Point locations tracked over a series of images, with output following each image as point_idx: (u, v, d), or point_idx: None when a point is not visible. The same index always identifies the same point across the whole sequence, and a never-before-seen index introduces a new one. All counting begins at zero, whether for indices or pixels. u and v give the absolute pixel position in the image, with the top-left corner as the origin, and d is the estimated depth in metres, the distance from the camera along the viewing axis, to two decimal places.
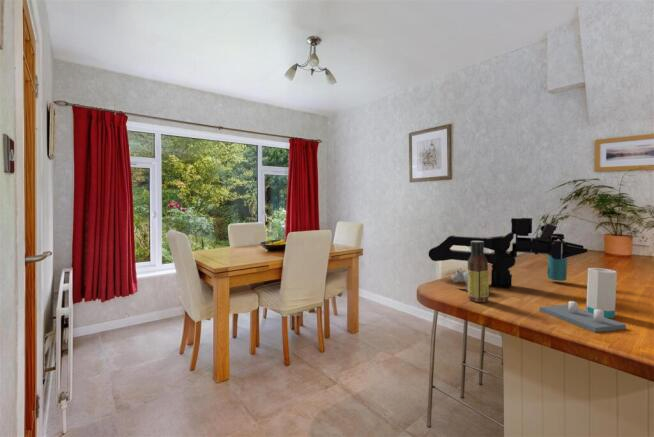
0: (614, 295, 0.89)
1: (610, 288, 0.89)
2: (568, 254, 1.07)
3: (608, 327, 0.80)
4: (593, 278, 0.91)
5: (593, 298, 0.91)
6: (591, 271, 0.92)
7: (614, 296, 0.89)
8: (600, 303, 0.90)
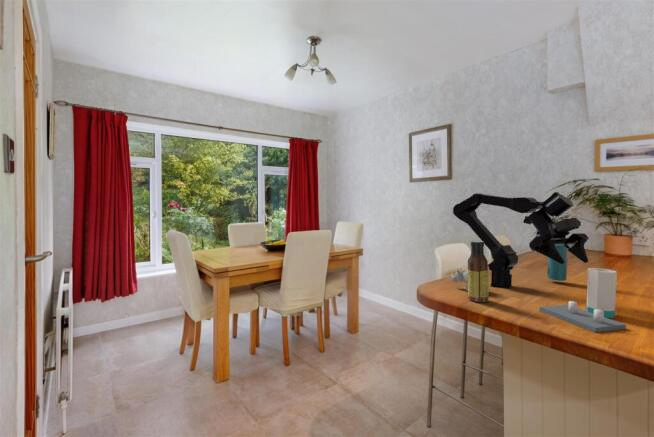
0: (614, 295, 0.89)
1: (610, 288, 0.89)
2: (545, 253, 1.02)
3: (608, 327, 0.80)
4: (593, 278, 0.91)
5: (593, 298, 0.91)
6: (591, 271, 0.92)
7: (614, 296, 0.89)
8: (600, 303, 0.90)
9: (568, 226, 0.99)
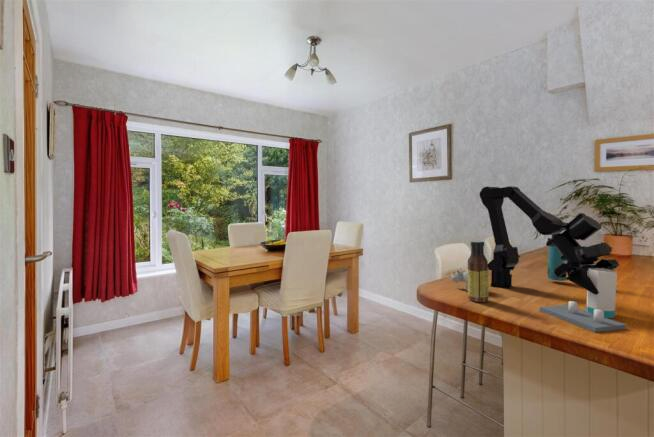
0: (614, 295, 0.89)
1: (610, 288, 0.89)
2: (576, 281, 0.94)
3: (608, 327, 0.80)
4: (593, 278, 0.91)
5: (593, 298, 0.91)
6: (591, 271, 0.92)
7: (614, 296, 0.89)
8: (600, 303, 0.90)
9: (598, 253, 0.90)
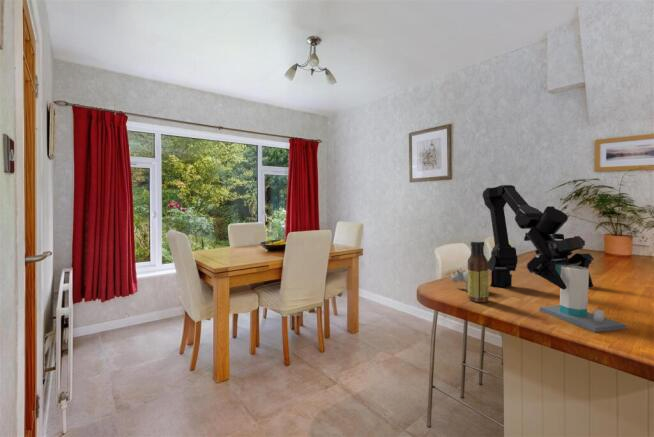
0: (586, 293, 0.87)
1: (582, 286, 0.87)
2: (545, 276, 0.92)
3: (608, 327, 0.80)
4: (565, 276, 0.89)
5: (565, 296, 0.89)
6: (563, 268, 0.89)
7: (586, 294, 0.87)
8: (572, 301, 0.88)
9: (571, 246, 0.88)
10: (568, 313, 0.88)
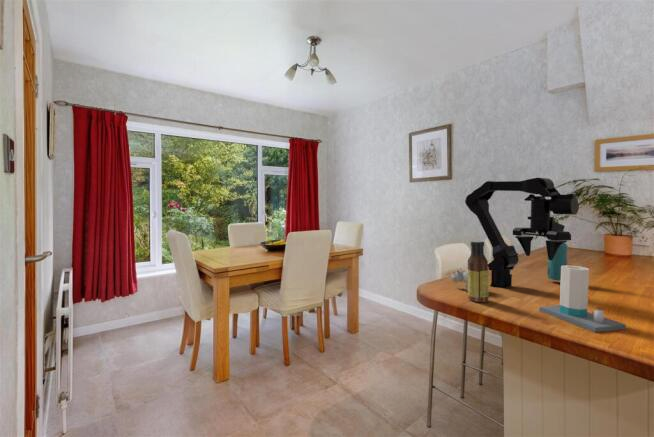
0: (586, 293, 0.87)
1: (582, 286, 0.87)
2: (551, 246, 1.05)
3: (608, 327, 0.80)
4: (565, 276, 0.89)
5: (565, 296, 0.89)
6: (563, 268, 0.89)
7: (586, 294, 0.87)
8: (572, 301, 0.88)
9: None
10: (568, 313, 0.88)
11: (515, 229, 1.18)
